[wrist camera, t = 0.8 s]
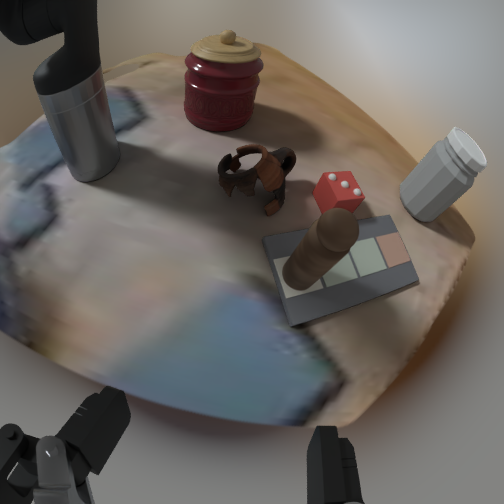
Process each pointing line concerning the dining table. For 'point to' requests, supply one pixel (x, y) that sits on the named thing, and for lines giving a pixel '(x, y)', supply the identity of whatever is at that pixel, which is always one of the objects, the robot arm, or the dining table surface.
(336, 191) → the red die
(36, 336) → the dining table surface
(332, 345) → the dining table surface
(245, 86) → the canister
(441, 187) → the jar
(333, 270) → the game board
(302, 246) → the walnut pawn
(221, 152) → the dining table surface
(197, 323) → the dining table surface
